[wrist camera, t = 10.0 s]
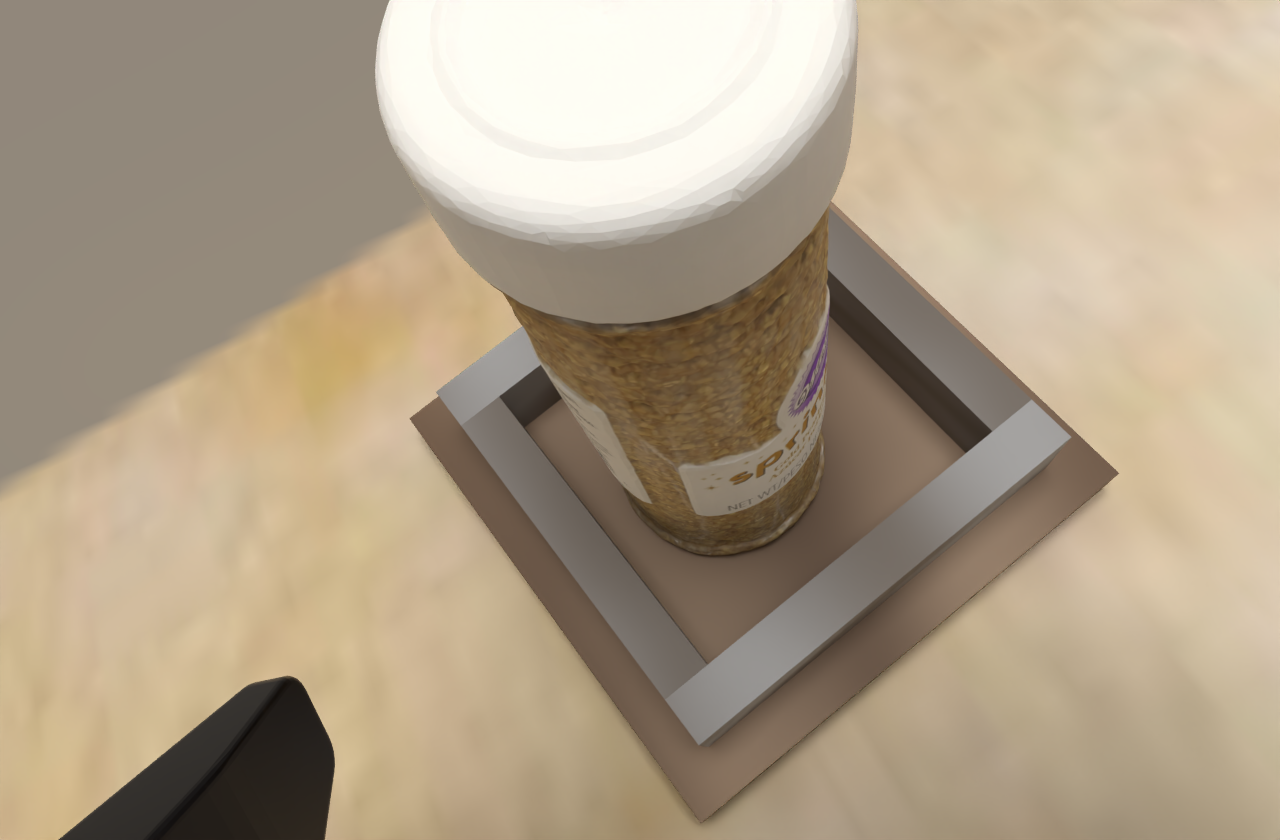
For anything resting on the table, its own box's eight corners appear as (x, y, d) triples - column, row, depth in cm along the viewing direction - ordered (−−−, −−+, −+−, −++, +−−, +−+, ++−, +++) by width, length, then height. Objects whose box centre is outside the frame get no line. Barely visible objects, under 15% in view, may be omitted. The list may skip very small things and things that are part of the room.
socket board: (705, 819, 20) (689, 830, 17) (425, 432, 23) (374, 387, 21) (1104, 486, 20) (1152, 442, 18) (771, 167, 24) (767, 90, 22)
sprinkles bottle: (822, 565, 20) (857, 231, 7) (608, 552, 21) (311, 230, 8) (828, 362, 21) (867, -204, 9) (628, 357, 22) (404, -168, 10)
